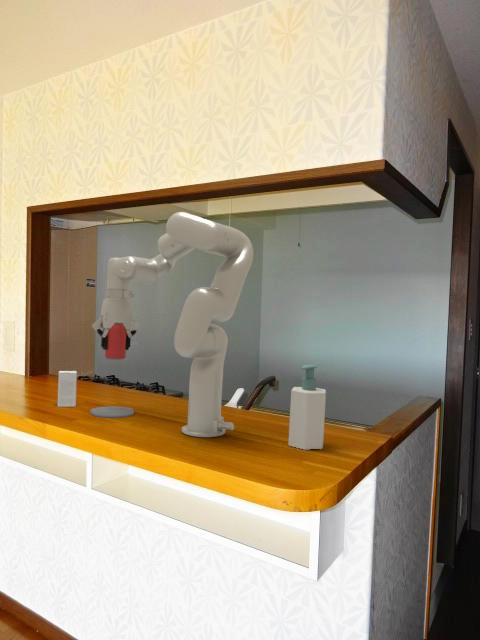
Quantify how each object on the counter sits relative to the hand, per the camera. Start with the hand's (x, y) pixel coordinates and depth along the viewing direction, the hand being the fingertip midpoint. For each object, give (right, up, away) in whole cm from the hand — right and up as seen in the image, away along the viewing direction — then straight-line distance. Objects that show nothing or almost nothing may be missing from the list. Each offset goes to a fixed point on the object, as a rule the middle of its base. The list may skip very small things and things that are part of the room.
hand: (115, 349), depth 164 cm
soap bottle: (+59, -25, -28) cm, 70 cm away
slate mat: (-1, -21, 0) cm, 21 cm away
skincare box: (-19, -20, +9) cm, 30 cm away
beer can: (0, -3, 0) cm, 3 cm away
